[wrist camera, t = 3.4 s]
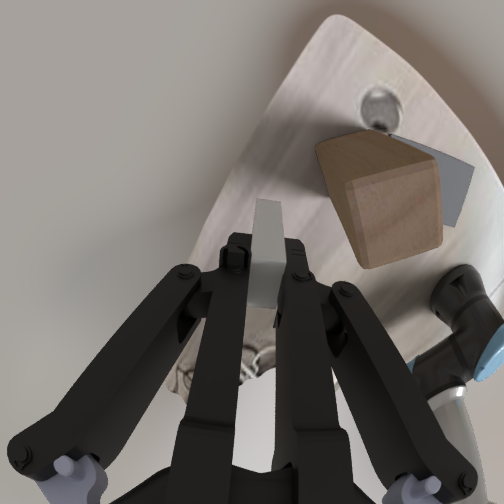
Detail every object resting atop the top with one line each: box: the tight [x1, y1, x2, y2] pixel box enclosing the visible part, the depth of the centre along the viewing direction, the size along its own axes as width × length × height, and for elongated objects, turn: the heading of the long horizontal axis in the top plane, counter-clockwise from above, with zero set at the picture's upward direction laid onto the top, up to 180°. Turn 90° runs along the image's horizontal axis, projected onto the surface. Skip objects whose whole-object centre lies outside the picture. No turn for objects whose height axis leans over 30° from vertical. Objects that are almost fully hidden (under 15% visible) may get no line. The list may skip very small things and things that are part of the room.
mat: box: [390, 134, 475, 227], centre depth 39 cm, size 20×13×1 cm, turn 84°
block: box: [315, 129, 443, 269], centre depth 30 cm, size 10×10×20 cm
